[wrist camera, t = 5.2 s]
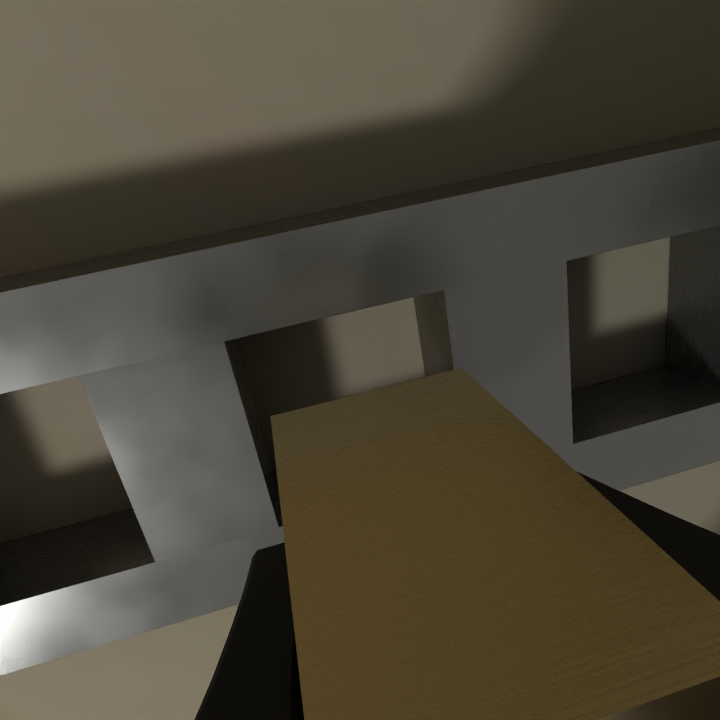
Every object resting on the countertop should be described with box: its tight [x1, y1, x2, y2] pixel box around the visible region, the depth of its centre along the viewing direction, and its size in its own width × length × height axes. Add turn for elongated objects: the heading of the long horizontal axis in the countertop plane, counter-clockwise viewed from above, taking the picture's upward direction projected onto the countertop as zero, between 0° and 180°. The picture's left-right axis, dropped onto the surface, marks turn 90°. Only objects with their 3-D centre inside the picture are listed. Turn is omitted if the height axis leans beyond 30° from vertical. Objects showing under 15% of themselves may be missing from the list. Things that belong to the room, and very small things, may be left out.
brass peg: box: [270, 368, 720, 720], centre depth 8 cm, size 4×4×7 cm
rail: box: [0, 128, 720, 675], centre depth 15 cm, size 10×28×3 cm, turn 100°
